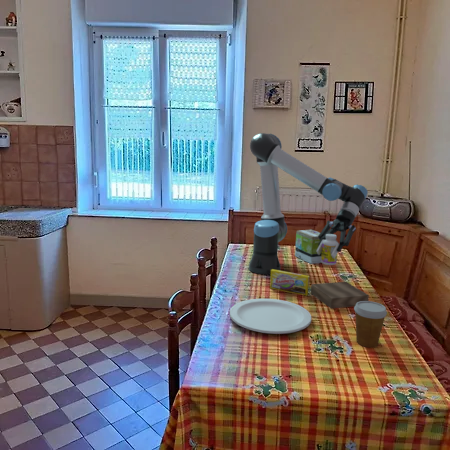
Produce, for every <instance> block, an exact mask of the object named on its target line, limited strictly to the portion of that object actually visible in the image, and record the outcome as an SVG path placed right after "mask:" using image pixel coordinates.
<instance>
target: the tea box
mask: <svg viewBox="0 0 450 450" xmlns="http://www.w3.org/2000/svg"><path fill="white" fill-rule="evenodd" d="M320 233H321V232H319V231H316V230H314V229H305V230H304V229H303V230H296V234H295V247H294V248H295V251H294V257H297V258H299V259H300V260H302V261H305V262H307V263H309V264H311V265H312V264H313V265H314V264H320V263H322V262H321V255H322V251H321V253H320V255H318V254H317V252H316V250H317V249H318V247H319V246H318V244H319V242H320V239H319V237H318V236H319V234H320ZM322 264H323V263H322Z"/></svg>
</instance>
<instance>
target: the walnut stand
mask: <svg viewBox="0 0 450 450" xmlns="http://www.w3.org/2000/svg"><path fill="white" fill-rule="evenodd" d="M310 295H312V296H313V297H314V298H316V299H317V300H319V301H320V302H321V303H322V304H324V305H326V306H327V307H328V308H330V309H340V308H349V307H355V306H356V303H357V302H360V301H370V300H369V299H370V298H369V297H370V295H369V294H367V292H364V291H363V290H361V289H359V288H357V287H355V286H354V285H352V284H351V283H349V282H348V281H338V282H337V281H336V282H335V281H334V282H323V283H322V282H320V283H312V284H311V285H310Z"/></svg>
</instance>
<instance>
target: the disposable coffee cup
mask: <svg viewBox="0 0 450 450" xmlns="http://www.w3.org/2000/svg"><path fill="white" fill-rule="evenodd" d="M386 308H387V307H386V306H385V305H383V304H381V303H379V302H375V301H372V300H371V301H370V300H368V301H360V302H357V303H356V306H353V309H354V312H355V333H356V335H355V336H356V343H357V344H358V345H360V346H362V347H365V348H376V347H378V345H379V341H380V337H381V333H382V330H383V325H384V322H385V318H386V316H387V315H388V311H387V309H386Z"/></svg>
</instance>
